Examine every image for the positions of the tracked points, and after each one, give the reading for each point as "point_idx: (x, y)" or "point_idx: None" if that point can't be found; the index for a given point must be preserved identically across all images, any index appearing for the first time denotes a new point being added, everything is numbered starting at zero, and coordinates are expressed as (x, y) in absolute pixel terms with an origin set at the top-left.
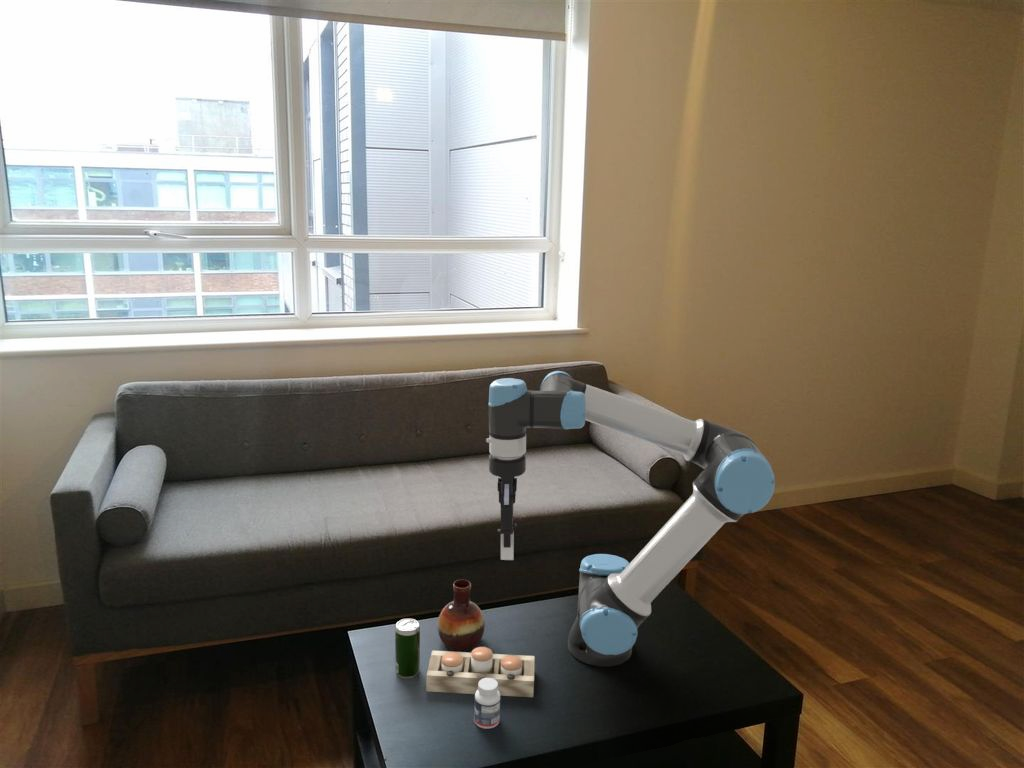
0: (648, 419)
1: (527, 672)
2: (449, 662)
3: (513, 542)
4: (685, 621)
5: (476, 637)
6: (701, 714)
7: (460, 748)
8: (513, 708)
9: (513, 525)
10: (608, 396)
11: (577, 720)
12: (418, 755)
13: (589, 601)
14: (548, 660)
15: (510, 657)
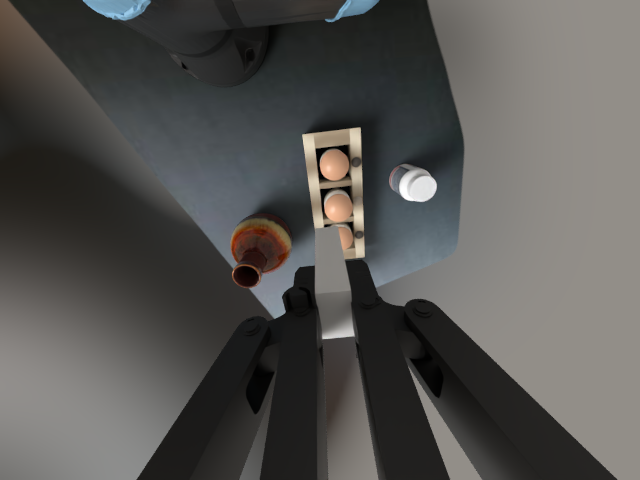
0: None
1: (342, 140)
2: (347, 240)
3: (343, 258)
4: None
5: (279, 220)
6: None
7: (445, 197)
8: (379, 150)
9: (309, 307)
10: None
11: (397, 55)
12: (453, 232)
13: None
14: (273, 115)
15: (324, 169)
